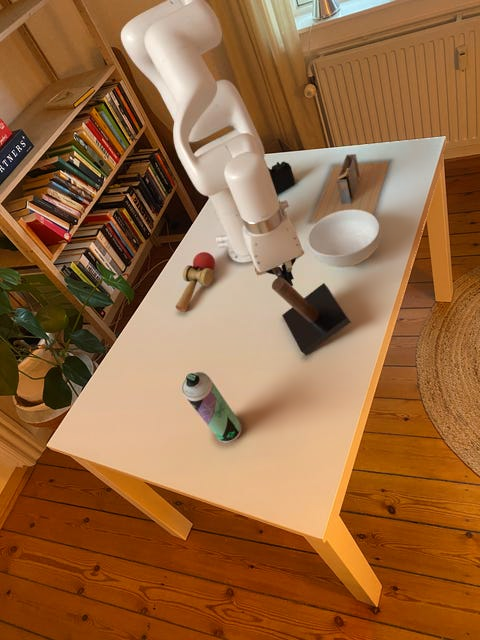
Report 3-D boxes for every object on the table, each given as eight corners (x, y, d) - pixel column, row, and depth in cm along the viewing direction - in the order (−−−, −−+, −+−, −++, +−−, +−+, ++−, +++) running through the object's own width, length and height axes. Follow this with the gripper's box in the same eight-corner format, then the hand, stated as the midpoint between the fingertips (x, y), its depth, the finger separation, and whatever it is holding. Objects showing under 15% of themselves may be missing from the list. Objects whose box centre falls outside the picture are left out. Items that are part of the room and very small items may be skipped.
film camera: (284, 171, 152) (276, 146, 146) (298, 184, 146) (291, 158, 139) (242, 195, 152) (232, 171, 145) (255, 209, 145) (245, 184, 138)
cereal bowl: (385, 227, 122) (382, 205, 117) (380, 276, 112) (376, 253, 107) (319, 232, 128) (313, 211, 123) (308, 279, 119) (301, 258, 114)
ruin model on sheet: (372, 220, 125) (366, 189, 118) (311, 221, 133) (303, 192, 126) (389, 161, 138) (385, 130, 131) (333, 165, 146) (327, 136, 139)
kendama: (200, 316, 125) (225, 260, 132) (185, 303, 121) (212, 245, 128) (179, 316, 130) (204, 261, 137) (164, 303, 126) (191, 247, 133)
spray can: (215, 422, 101) (175, 368, 87) (240, 415, 100) (204, 360, 86) (217, 445, 98) (175, 394, 84) (242, 439, 97) (205, 385, 82)
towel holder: (284, 320, 113) (331, 297, 113) (303, 356, 105) (354, 332, 104) (261, 267, 101) (314, 242, 100) (281, 304, 92) (338, 276, 92)
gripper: (292, 190, 94) (312, 258, 107) (222, 223, 94) (250, 287, 108) (306, 210, 89) (326, 278, 102) (232, 245, 89) (261, 309, 102)
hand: (287, 283), depth 105 cm, fingers closed
